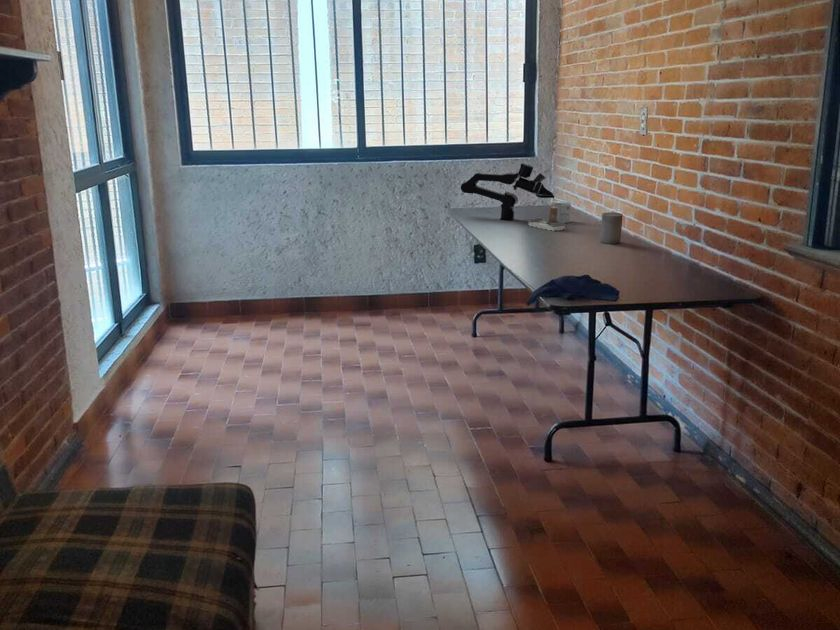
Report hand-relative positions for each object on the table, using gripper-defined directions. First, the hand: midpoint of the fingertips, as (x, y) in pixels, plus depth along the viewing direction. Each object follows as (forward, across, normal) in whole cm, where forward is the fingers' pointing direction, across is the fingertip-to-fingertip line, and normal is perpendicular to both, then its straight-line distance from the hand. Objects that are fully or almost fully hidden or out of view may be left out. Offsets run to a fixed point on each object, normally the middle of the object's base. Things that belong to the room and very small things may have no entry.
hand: (553, 195), depth 406 cm
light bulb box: (+7, +12, +11) cm, 18 cm away
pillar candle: (+39, -36, +14) cm, 54 cm away
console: (+5, -10, +18) cm, 21 cm away
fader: (+7, -13, +15) cm, 21 cm away
